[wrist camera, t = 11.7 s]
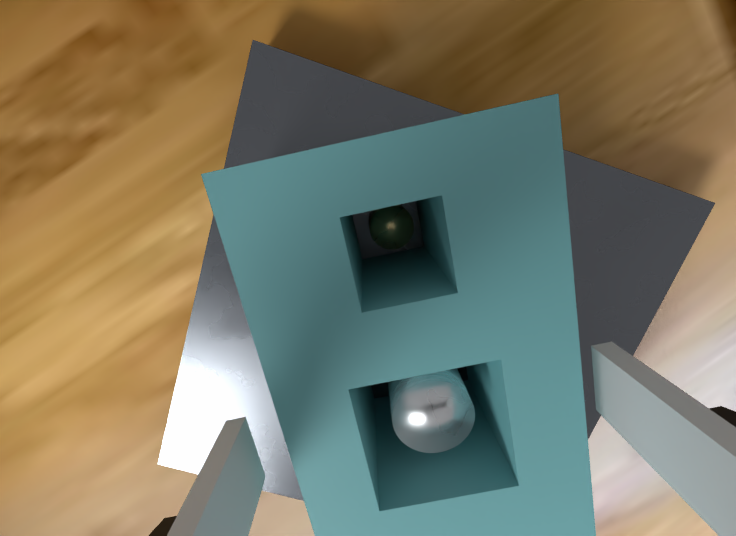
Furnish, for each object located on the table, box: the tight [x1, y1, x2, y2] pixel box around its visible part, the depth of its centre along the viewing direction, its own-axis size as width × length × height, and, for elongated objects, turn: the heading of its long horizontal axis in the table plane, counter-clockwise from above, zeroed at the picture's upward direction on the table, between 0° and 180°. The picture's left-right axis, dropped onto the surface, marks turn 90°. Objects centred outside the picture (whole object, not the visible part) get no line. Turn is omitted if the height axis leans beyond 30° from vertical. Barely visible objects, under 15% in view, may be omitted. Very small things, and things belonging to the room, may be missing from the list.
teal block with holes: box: [201, 94, 596, 536], centre depth 17 cm, size 20×10×7 cm, turn 12°
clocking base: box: [158, 40, 715, 501], centre depth 18 cm, size 22×22×8 cm
